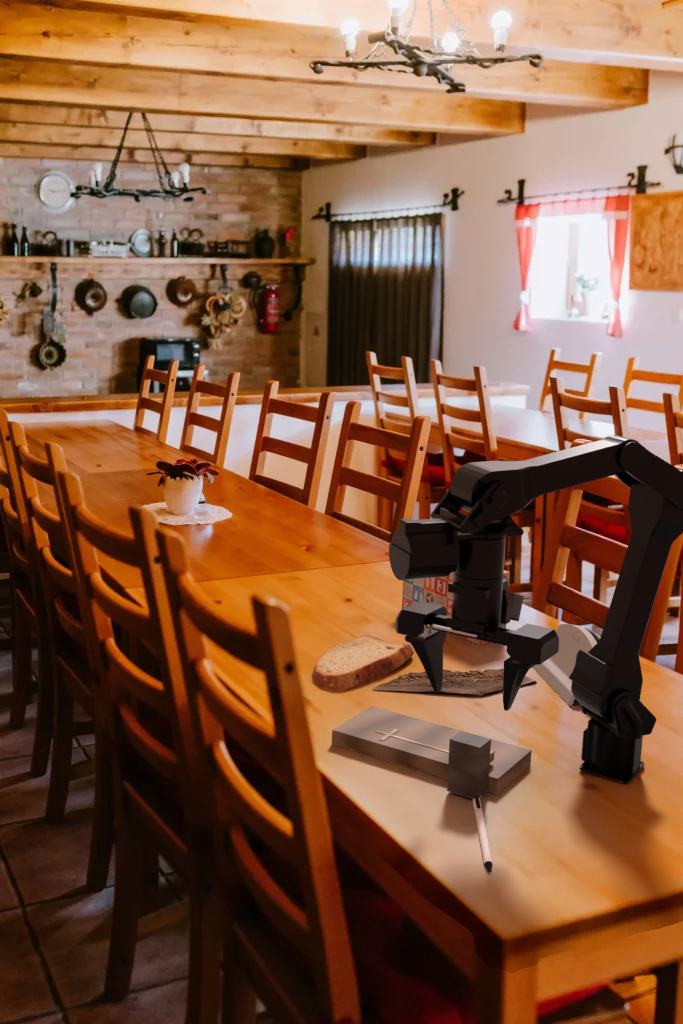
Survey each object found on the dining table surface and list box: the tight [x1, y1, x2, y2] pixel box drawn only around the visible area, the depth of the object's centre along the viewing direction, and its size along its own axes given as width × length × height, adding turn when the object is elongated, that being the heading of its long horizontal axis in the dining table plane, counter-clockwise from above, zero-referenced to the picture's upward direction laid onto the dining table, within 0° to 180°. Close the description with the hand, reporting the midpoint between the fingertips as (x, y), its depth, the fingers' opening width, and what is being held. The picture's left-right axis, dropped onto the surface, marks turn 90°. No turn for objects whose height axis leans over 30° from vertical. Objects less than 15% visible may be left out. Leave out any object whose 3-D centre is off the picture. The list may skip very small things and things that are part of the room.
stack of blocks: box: [401, 569, 511, 645], centre depth 193 cm, size 21×6×12 cm, turn 36°
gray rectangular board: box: [331, 706, 532, 795], centre depth 141 cm, size 24×10×2 cm, turn 57°
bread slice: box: [312, 634, 415, 691], centre depth 171 cm, size 18×18×4 cm
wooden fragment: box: [372, 667, 538, 697], centre depth 165 cm, size 26×11×1 cm, turn 98°
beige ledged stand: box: [532, 623, 601, 707], centre depth 166 cm, size 17×5×10 cm, turn 10°
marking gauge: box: [446, 730, 495, 800], centre depth 131 cm, size 4×7×7 cm, turn 147°
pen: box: [472, 796, 494, 875], centre depth 122 cm, size 1×19×1 cm, turn 178°
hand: (471, 700), depth 128 cm, fingers open, 9 cm apart
